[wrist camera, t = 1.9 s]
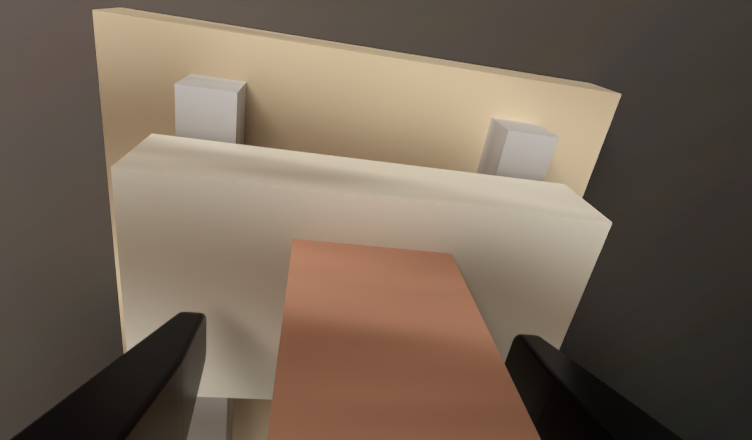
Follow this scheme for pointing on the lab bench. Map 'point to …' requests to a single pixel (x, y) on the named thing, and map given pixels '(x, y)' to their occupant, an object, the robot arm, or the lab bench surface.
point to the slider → (351, 283)
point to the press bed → (332, 118)
